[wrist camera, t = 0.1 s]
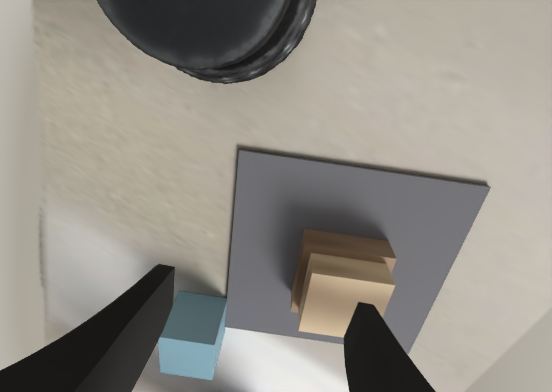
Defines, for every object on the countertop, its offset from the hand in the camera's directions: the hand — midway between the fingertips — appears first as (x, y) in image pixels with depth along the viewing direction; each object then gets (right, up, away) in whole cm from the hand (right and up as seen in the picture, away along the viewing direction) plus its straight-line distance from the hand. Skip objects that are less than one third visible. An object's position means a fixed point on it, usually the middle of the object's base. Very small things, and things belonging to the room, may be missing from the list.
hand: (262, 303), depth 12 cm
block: (-6, -6, +15) cm, 17 cm away
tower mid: (+5, -2, +9) cm, 11 cm away
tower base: (+5, -1, +11) cm, 12 cm away
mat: (+5, -1, +11) cm, 13 cm away
